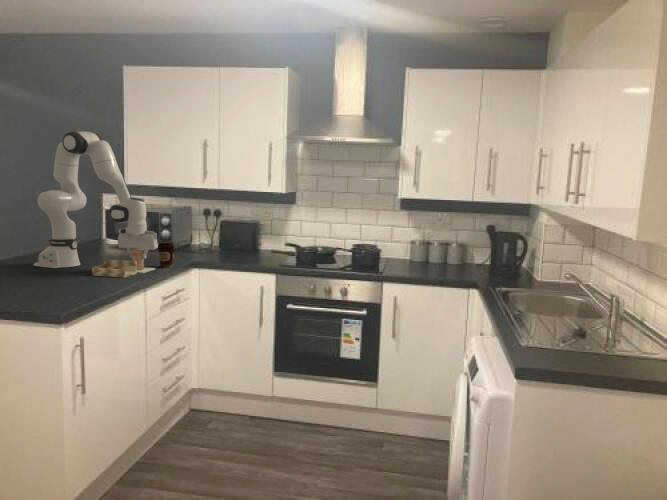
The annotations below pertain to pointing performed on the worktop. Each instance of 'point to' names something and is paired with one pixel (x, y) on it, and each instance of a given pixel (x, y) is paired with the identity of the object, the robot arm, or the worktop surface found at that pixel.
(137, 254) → the pot
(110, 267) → the wooden compartment tray
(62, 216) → the robot arm
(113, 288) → the worktop surface
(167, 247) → the dark brown jar
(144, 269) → the mat
